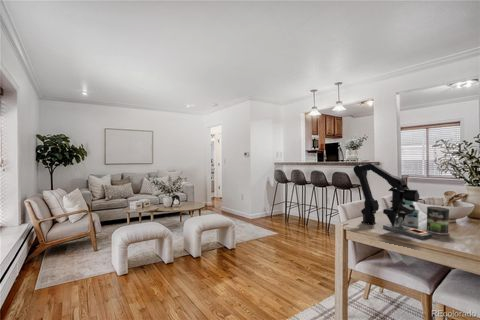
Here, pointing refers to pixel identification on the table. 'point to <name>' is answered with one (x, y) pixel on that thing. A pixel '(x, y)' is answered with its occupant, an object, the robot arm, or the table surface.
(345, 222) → the table surface
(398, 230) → the rail
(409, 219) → the light bulb box
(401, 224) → the steel peg
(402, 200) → the robot arm
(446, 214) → the coffee can
